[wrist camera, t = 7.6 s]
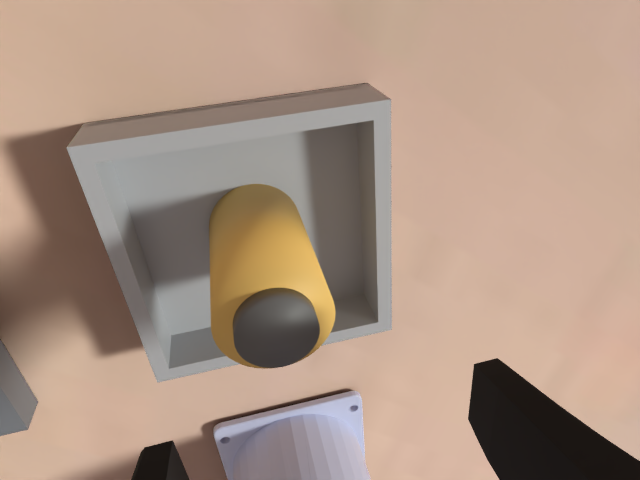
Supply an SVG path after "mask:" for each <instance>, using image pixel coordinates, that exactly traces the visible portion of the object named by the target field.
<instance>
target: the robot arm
mask: <svg viewBox="0 0 640 480" xmlns="http://www.w3.org/2000/svg"><path fill="white" fill-rule="evenodd" d="M468 420H469V422H470V424H471V426H472V428H473V430H474V433H475V435H476V437H477V439H478V441H479V443H480V445H481V447H482V449H483V451H484V453H485V456H486V458H487V460H488V461H489V463H490V465H491V466H492V468H493V470H494V471H495V473H496V475H497V476H498V478H499V479H500V480H640V461H639V460H637V459H635V458H634V457H632V456H631V455H629V454H628V453H626V452H625V451H623V450H622V449H620V448H619V447H617V446H616V445H614V444H613V443H611V442H610V441H608V440H607V439H605V438H604V437H603V436H601V435H600V434H598V433H597V432H595V431H594V430H592V429H591V428H590V427H588V426H587V425H586V424H584V423H583V422H581V421H580V420H579V419H577V418H576V417H574V416H573V415H572V414H570V413H569V412H567V411H566V410H565V409H563V408H562V407H561V406H559V405H558V404H557V403H555V402H554V401H553V400H551V399H550V398H549V397H547V396H546V395H545V394H543V393H542V392H541V391H539V390H538V389H537V388H536V387H534V386H533V385H532V384H530V383H529V382H528V381H526V380H525V379H524V378H523V377H521V376H520V375H519V374H517V373H516V372H515V371H514V370H512V369H511V368H510V367H508V366H507V365H506V364H504V363H503V362H502V361H500V360H499V359H498V358H497V359H493V360H489V361H485V362H481V363H477V364H474V371H473V380H472V389H471V398H470V407H469V416H468ZM213 434H214V439H215V442H216V445H217V448H218V451H219V454H220V457H221V460H222V464H223V467H224V470H225V473H226V476H227V479H228V480H371V478H370V475H369V472H368V469H367V466H366V463H365V450H364V431H363V412H362V399H361V396H360V393H359V392H357V391H349V392H345V393H341V394H337V395H332V396H328V397H324V398H320V399H316V400H312V401H308V402H304V403H299V404H295V405H291V406H287V407H283V408H279V409H275V410H271V411H266V412H262V413H258V414H254V415H250V416H246V417H242V418H238V419H233V420H229V421H225V422H221V423H219V424H217V425H216V426H215V427H214V428H213ZM131 480H189V478H188V475H187V473H186V471H185V468H184V466H183V463H182V461H181V459H180V456H179V454H178V452H177V449H176V447H175V445H174V442H173V441H169V442H165V443H161V444H157V445H153V446H149V447H145V448H144V449H143V450H142V452H141V453H140V456H139V459H138V462H137V465H136V468H135V471H134V473H133V476H132V479H131Z"/></svg>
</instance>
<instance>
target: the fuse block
mask: <svg viewBox="0 0 640 480" xmlns="http://www.w3.org/2000/svg"><path fill="white" fill-rule="evenodd" d="M37 404H38V401H37V399H36V397H35V396H34V394H33V392H32V391H31V389H30V387H29V386H28V384H27V382H26V381H25V379H24V377H23V376H22V374H21V372H20V371H19V369H18V368H17V366H16V364H15V363H14V361H13V359H12V358H11V356H10V354H9V353H8V351H7V349H6V348H5V346H4V344H3V343H2V341H1V339H0V436H2V435H6V434H10V433H15V432H19V431H23V430H28V428H29V425H30V423H31V420H32V417H33V414H34V412H35V409H36V406H37Z"/></svg>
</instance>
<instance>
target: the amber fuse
mask: <svg viewBox="0 0 640 480" xmlns="http://www.w3.org/2000/svg"><path fill="white" fill-rule="evenodd" d="M209 253H210V312H211V332H212V336H213V339H214V341H215V343H216V345H217V346H218V348H219V349H220V350H221V351H222V352H223V353H224V354H225V355H226V356H227V357H228V358H230V359H232V360H233V361H235V362H237V363H240V364H242V365H245V366H249V367H254V368H277V367H283V366H287V365H290V364H293V363H296V362H298V361H300V360H302V359H304V358H306V357H308V356H309V355H310V354H312V353H313V352H315V351H316V350H317V349H318V348H319V347H320V346H321V345H322V344H323V343H324V342H325V340H326V339H327V338H328V336H329V334H330V332H331V330H332V328H333V325H334V321H335V313H336V312H335V304H334V301H333V298H332V295H331V293H330V290H329V288H328V285H327V283H326V280H325V278H324V275H323V273H322V270H321V267H320V265H319V262H318V260H317V257H316V255H315V252H314V250H313V247H312V245H311V242H310V239H309V237H308V234H307V232H306V229H305V227H304V224H303V222H302V219H301V217H300V214H299V212H298V209H297V207H296V205H295V203H294V202H293V200H292V199H291V198H290V197H289V196H288V195H287V194H286V193H284V192H283V191H281V190H279V189H277V188H275V187H273V186H270V185H265V184H249V185H244V186H240V187H237V188H235V189H233V190H231V191H230V192H228V193H227V194H225V195H224V196H223V197H222V198H221V199H220V200H219V201H218V202H217V204H216V205H215V207H214V208H213V210H212V213H211V216H210V220H209Z"/></svg>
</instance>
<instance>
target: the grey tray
mask: <svg viewBox="0 0 640 480" xmlns="http://www.w3.org/2000/svg"><path fill="white" fill-rule="evenodd" d="M66 148H67V151H68V153H69V156H70V158H71V161H72V163H73V166H74V169H75V171H76V174H77V176H78V179H79V181H80V184H81V187H82V189H83V192H84V194H85V197H86V200H87V202H88V205H89V207H90V210H91V212H92V215H93V218H94V220H95V223H96V225H97V228H98V230H99V233H100V236H101V238H102V241H103V243H104V246H105V248H106V251H107V254H108V256H109V259H110V261H111V264H112V267H113V269H114V272H115V274H116V277H117V279H118V282H119V285H120V287H121V290H122V292H123V295H124V297H125V300H126V303H127V305H128V308H129V310H130V313H131V315H132V318H133V321H134V323H135V326H136V328H137V331H138V334H139V336H140V339H141V341H142V344H143V346H144V349H145V352H146V354H147V357H148V359H149V362H150V364H151V367H152V370H153V372H154V375H155V377H156V380H157V382H162V381H167V380H171V379H175V378H180V377H184V376H189V375H193V374H198V373H202V372H207V371H211V370H215V369H220V368H224V367H229V366H233V365H238V364H240V363H237V362H235V361H233V360H232V359H230V358H228V357H227V356H226V355H225V354H224V353H223V352H222V351H221V350H220V349H219V348H218V346H217V345H216V343H215V341H214V339H213V336H212V332H211V312H210V253H209V220H210V216H211V213H212V210H213V208H214V207H215V205H216V204H217V202H218V201H219V200H220V199H221V198H222V197H223V196H224V195H225V194H227V193H228V192H230V191H231V190H233V189H235V188H237V187H240V186H244V185H249V184H265V185H270V186H273V187H275V188H277V189H279V190H281V191H283V192H284V193H286V194H287V195H288V196H289V197H290V198H291V199H292V200H293V202H294V203H295V205H296V207H297V209H298V212H299V214H300V217H301V219H302V222H303V224H304V227H305V229H306V232H307V234H308V237H309V239H310V242H311V245H312V247H313V250H314V252H315V255H316V257H317V260H318V262H319V265H320V267H321V270H322V273H323V275H324V278H325V280H326V283H327V285H328V288H329V290H330V293H331V295H332V298H333V301H334V304H335V312H336V313H335V321H334V325H333V328H332V330H331V332H330V334H329V336H328V338H327V339H326V340H325V342H324V343H323V344H322V345H326V344H331V343H335V342H340V341H344V340H348V339H353V338H357V337H362V336H366V335H371V334H375V333H379V332H384V331H388V330H392V278H391V99H390V98H388V97H387V96H385V95H384V94H383V93H381V92H380V91H378V90H377V89H375V88H374V87H372V86H371V85H370V84H368V83H363V84H356V85H349V86H342V87H335V88H328V89H321V90H314V91H307V92H300V93H293V94H286V95H279V96H272V97H265V98H258V99H251V100H244V101H237V102H230V103H223V104H216V105H209V106H202V107H195V108H188V109H180V110H173V111H166V112H159V113H152V114H145V115H138V116H131V117H124V118H117V119H110V120H103V121H96V122H89V123H84V124H83V125H82V127H81V128H80V129H79V131H78V132H77V134H76V135H75V136H74V138H73V139H72V140H71V142H70V143H69V145H68V146H67V147H66ZM322 345H321V346H322Z"/></svg>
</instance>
